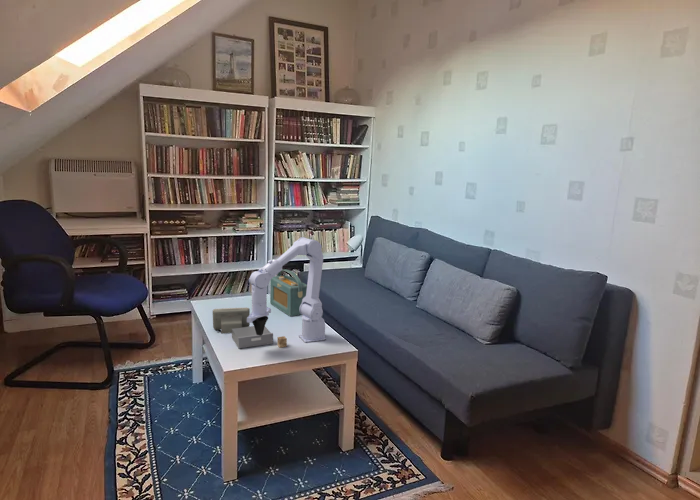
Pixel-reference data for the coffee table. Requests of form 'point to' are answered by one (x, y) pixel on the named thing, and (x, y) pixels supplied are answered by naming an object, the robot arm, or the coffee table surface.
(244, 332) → the player housing
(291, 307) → the radio
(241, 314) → the digital clock
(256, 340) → the grey drawer
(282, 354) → the coffee table surface
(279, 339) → the tan wooden block
